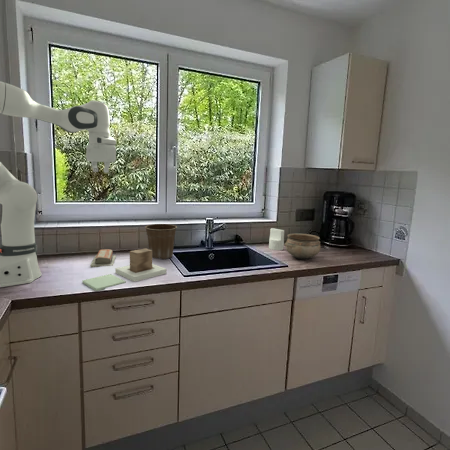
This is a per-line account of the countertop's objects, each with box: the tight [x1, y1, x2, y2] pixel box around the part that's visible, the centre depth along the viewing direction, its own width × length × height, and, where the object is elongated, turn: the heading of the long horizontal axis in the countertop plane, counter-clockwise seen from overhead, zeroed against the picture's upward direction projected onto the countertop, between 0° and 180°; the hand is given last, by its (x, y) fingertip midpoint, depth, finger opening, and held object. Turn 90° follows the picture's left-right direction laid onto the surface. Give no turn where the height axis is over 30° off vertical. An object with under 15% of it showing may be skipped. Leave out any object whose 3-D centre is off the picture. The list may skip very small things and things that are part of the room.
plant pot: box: [144, 223, 178, 260], centre depth 166 cm, size 16×16×16 cm
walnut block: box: [129, 247, 153, 273], centre depth 137 cm, size 8×5×10 cm, turn 138°
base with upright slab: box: [268, 227, 285, 251], centre depth 195 cm, size 9×9×12 cm
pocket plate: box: [114, 263, 167, 282], centre depth 138 cm, size 16×15×2 cm
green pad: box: [81, 273, 127, 292], centre depth 125 cm, size 12×12×1 cm
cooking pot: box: [284, 232, 321, 261], centre depth 174 cm, size 25×19×12 cm
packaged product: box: [90, 248, 117, 268], centre depth 154 cm, size 18×5×10 cm
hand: (100, 172), depth 141 cm, fingers open, 8 cm apart
